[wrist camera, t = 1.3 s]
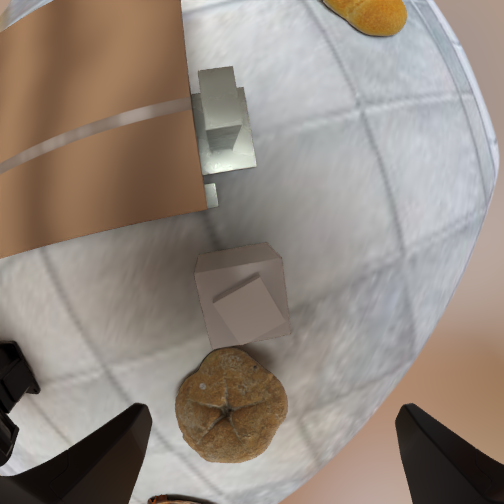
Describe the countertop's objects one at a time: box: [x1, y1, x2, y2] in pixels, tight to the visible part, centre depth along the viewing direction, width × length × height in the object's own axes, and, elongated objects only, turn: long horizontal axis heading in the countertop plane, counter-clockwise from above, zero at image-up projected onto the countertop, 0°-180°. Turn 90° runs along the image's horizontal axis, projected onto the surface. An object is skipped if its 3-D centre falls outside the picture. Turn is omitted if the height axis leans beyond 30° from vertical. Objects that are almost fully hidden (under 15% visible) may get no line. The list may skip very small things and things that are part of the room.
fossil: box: [175, 347, 288, 463], centre depth 21 cm, size 9×4×10 cm
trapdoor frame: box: [191, 66, 256, 208], centre depth 14 cm, size 23×8×8 cm, turn 99°
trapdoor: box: [0, 0, 208, 259], centre depth 12 cm, size 16×16×6 cm
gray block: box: [194, 242, 291, 349], centre depth 18 cm, size 5×5×6 cm
